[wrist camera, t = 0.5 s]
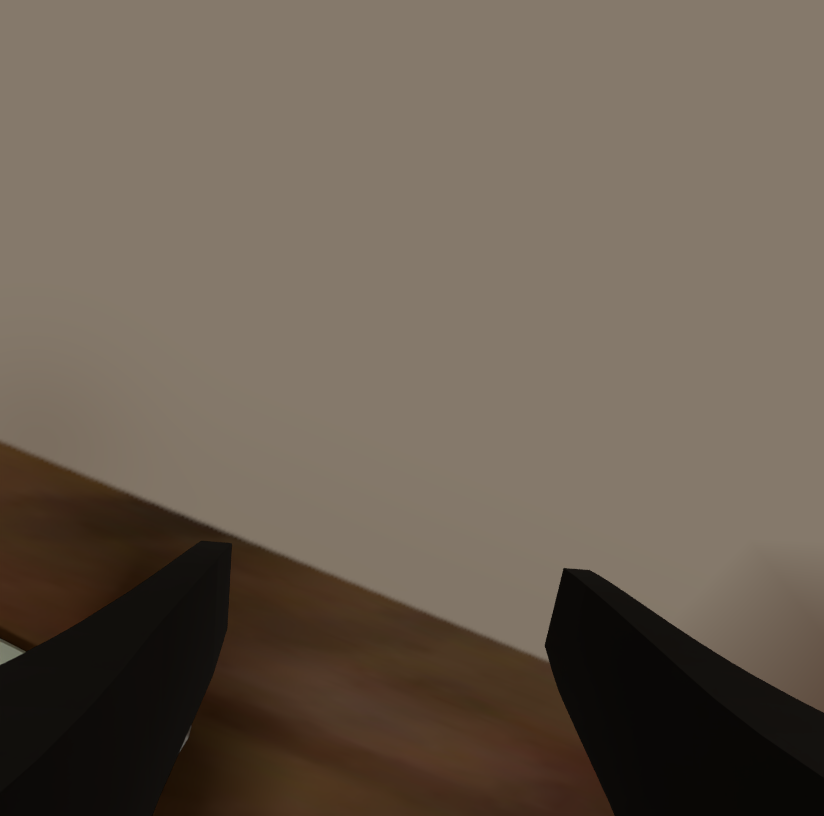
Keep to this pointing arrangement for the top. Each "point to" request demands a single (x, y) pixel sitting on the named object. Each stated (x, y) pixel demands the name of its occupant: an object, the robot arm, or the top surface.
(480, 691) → the top surface
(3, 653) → the mat
